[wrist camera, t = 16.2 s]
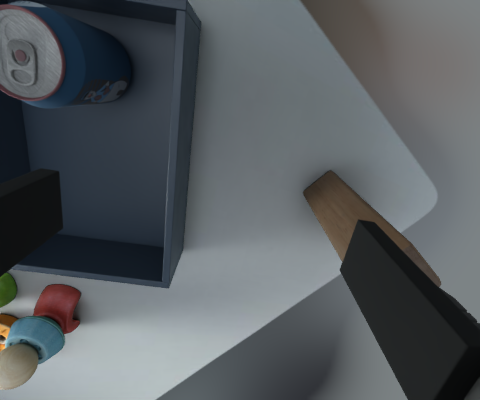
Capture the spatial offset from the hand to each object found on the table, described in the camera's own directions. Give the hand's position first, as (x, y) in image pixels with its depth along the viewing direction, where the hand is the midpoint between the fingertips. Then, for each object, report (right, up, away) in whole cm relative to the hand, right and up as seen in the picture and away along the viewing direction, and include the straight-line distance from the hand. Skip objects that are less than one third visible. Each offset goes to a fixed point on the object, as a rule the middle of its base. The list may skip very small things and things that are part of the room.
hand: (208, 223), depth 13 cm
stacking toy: (-31, -16, +31) cm, 47 cm away
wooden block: (+14, 0, +24) cm, 28 cm away
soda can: (-13, +15, +17) cm, 26 cm away
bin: (-14, +8, +21) cm, 27 cm away
